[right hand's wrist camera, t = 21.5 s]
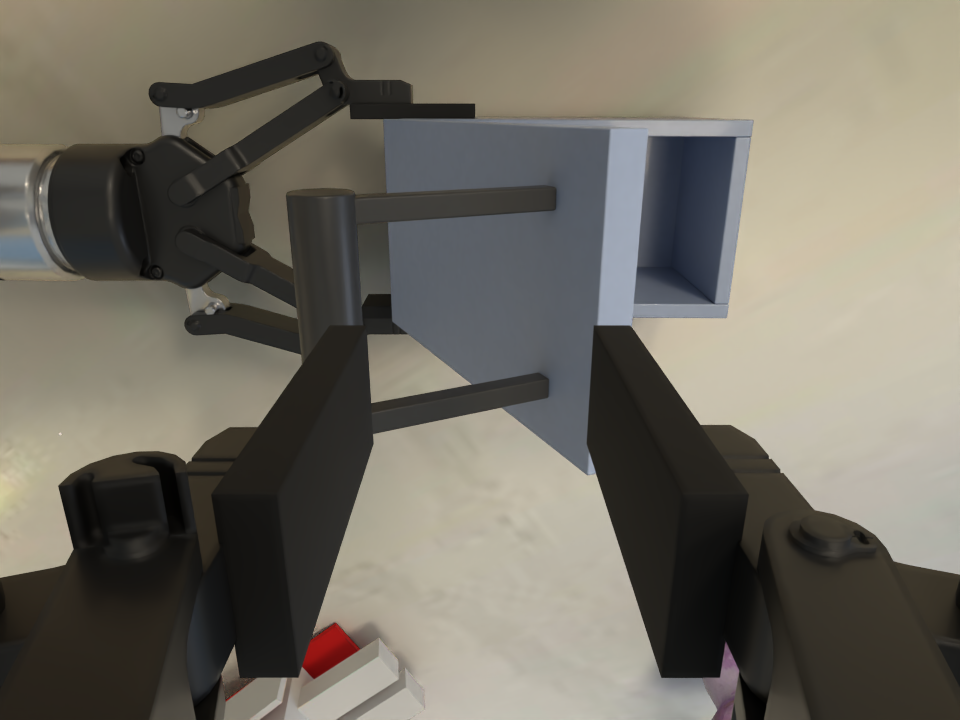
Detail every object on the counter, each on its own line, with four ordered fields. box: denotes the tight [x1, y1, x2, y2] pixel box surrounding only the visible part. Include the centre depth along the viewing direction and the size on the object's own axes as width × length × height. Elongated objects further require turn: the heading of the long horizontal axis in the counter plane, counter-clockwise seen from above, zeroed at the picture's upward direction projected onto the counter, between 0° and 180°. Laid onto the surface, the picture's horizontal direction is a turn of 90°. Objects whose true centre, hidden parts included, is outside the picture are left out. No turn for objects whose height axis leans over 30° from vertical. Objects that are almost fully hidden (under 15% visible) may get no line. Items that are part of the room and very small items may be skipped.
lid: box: [286, 119, 648, 475], centre depth 25 cm, size 18×10×9 cm
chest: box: [416, 117, 753, 318], centre depth 40 cm, size 18×10×10 cm, turn 90°
